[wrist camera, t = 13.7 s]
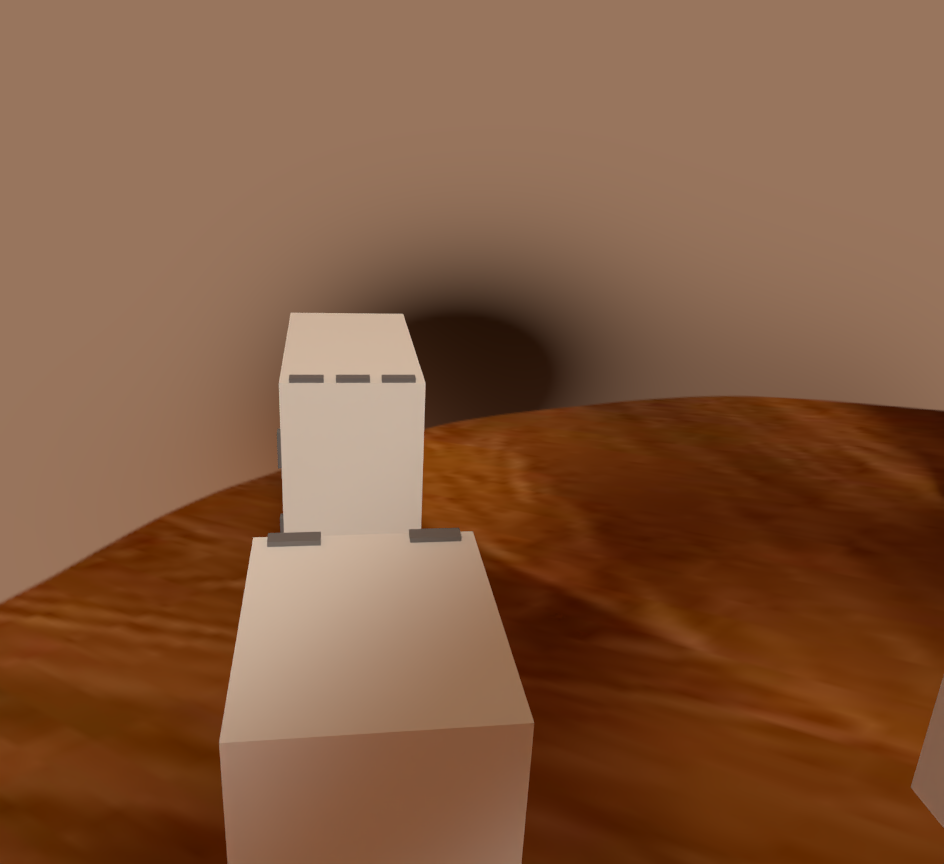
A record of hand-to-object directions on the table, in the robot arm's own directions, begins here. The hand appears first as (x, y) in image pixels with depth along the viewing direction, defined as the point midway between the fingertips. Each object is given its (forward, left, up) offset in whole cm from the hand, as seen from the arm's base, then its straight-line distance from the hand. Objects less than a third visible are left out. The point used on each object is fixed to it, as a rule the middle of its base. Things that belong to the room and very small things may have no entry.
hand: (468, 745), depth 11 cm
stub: (+1, -9, -16) cm, 18 cm away
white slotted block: (+1, -32, -16) cm, 36 cm away
